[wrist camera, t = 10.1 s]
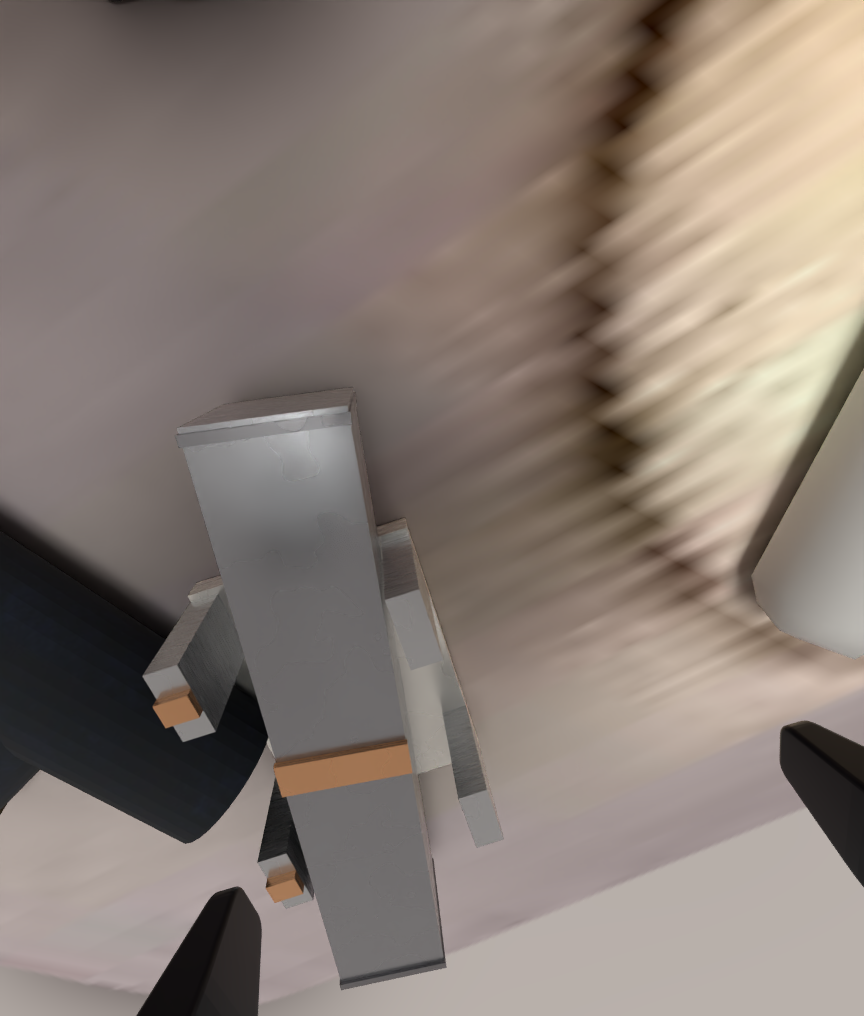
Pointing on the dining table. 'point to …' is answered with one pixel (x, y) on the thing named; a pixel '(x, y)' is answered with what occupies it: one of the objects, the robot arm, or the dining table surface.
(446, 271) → the dining table surface
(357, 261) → the dining table surface
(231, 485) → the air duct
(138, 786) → the pipe connector
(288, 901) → the collar rail
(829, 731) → the robot arm
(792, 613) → the tube
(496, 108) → the dining table surface
